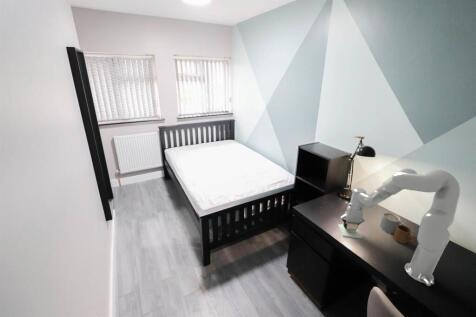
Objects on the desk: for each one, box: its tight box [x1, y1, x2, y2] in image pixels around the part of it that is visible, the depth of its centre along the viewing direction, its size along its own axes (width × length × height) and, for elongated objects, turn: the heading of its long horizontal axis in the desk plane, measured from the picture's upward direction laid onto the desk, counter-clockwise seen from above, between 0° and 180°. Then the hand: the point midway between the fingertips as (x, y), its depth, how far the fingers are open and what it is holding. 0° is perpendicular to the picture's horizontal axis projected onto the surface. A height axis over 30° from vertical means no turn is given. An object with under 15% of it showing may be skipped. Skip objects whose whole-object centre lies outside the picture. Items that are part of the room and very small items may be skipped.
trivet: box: [337, 223, 363, 239], centre depth 151 cm, size 12×12×1 cm
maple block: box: [346, 222, 359, 232], centre depth 149 cm, size 6×6×6 cm
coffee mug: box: [379, 212, 406, 234], centre depth 152 cm, size 13×10×10 cm
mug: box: [393, 224, 417, 245], centre depth 140 cm, size 12×8×9 cm, turn 18°
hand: (350, 227), depth 150 cm, fingers closed on maple block, 6 cm apart
